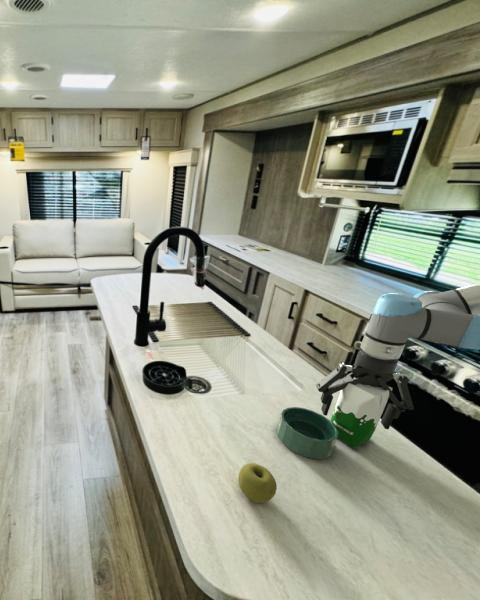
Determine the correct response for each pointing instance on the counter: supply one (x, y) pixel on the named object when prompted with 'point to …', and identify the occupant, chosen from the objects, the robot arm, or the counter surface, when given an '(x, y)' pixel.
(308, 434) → the green bowl
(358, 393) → the soya milk
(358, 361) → the robot arm
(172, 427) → the counter surface
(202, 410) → the counter surface
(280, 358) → the counter surface
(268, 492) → the apple
